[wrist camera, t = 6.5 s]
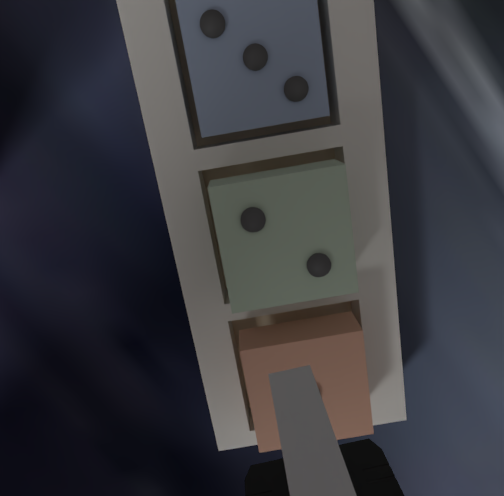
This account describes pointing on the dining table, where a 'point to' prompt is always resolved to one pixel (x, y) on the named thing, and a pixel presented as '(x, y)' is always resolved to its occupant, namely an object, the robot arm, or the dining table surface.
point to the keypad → (262, 159)
